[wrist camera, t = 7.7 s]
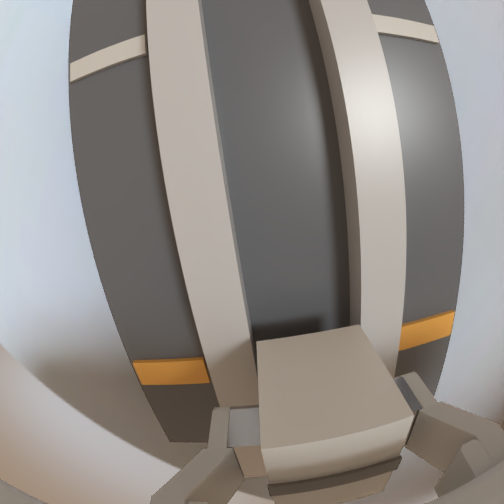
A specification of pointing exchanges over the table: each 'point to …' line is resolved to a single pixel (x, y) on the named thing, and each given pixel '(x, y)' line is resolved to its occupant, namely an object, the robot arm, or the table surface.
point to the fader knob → (328, 417)
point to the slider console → (265, 185)
